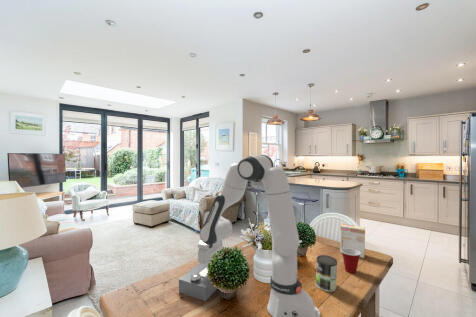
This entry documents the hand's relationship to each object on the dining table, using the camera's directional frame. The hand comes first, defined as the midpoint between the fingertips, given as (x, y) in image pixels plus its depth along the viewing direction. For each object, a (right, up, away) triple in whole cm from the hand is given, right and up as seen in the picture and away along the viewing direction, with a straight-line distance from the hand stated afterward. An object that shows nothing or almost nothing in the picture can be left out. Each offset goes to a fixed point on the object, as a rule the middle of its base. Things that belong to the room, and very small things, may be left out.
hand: (211, 264), depth 122 cm
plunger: (-6, -6, -13) cm, 15 cm away
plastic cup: (+82, -9, +11) cm, 83 cm away
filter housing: (-3, -8, -6) cm, 11 cm away
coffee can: (+62, -9, -5) cm, 62 cm away
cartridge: (-2, -6, -3) cm, 7 cm away
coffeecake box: (+95, -9, +33) cm, 101 cm away
